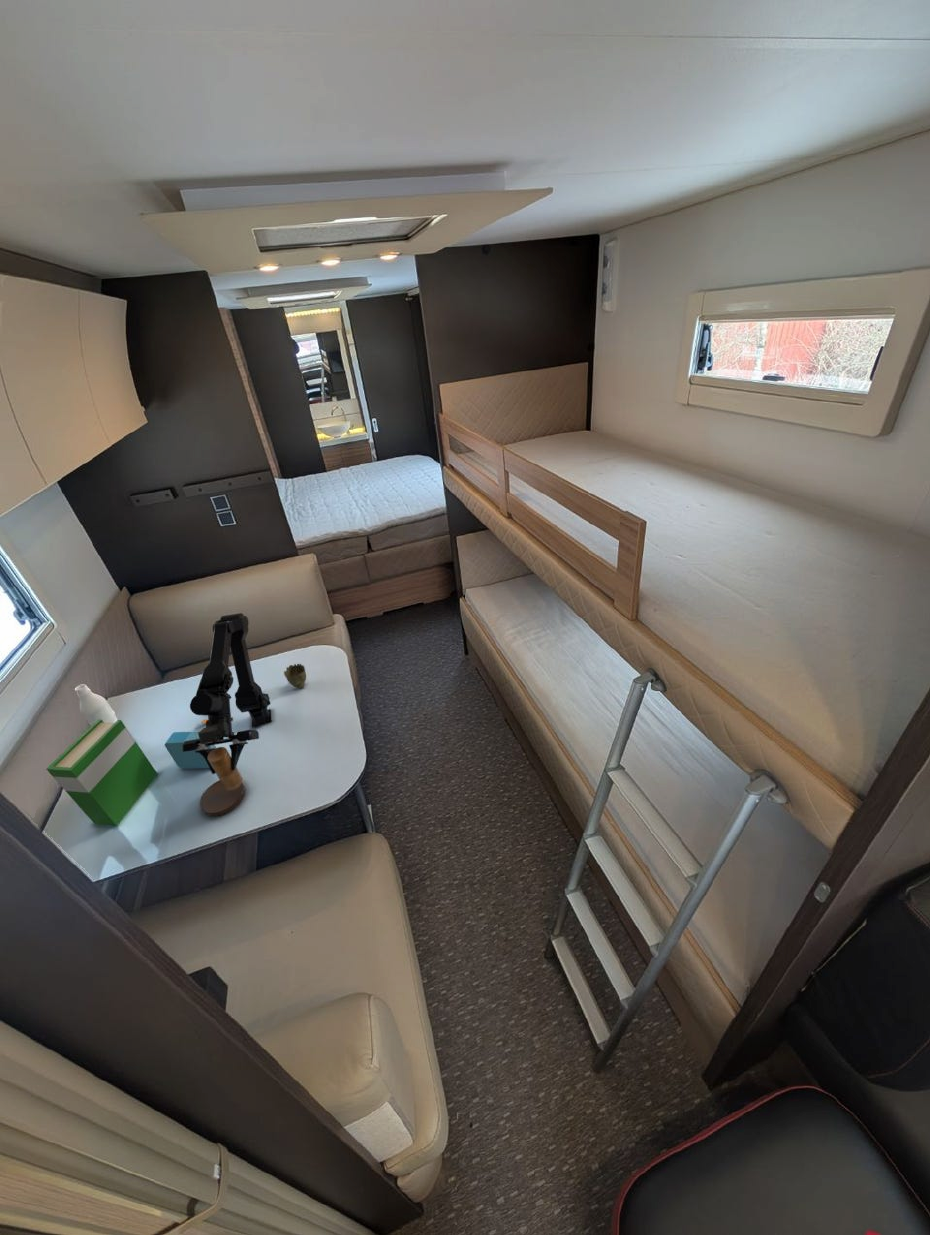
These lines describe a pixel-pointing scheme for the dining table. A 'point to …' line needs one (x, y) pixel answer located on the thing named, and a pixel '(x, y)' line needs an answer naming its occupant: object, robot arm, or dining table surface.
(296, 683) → the olive tapered rounded piece
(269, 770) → the dining table surface
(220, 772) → the oak column
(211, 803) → the walnut disc
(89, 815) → the hardback book
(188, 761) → the data package
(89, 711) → the water bottle
